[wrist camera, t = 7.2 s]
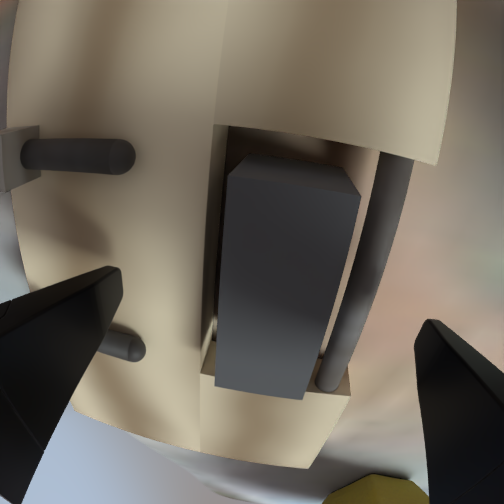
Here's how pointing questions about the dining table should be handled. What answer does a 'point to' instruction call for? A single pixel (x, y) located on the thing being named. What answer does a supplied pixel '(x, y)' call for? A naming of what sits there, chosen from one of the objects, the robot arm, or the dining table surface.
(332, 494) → the flower pot
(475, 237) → the dining table surface
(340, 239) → the dark grey chamfered block
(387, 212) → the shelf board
